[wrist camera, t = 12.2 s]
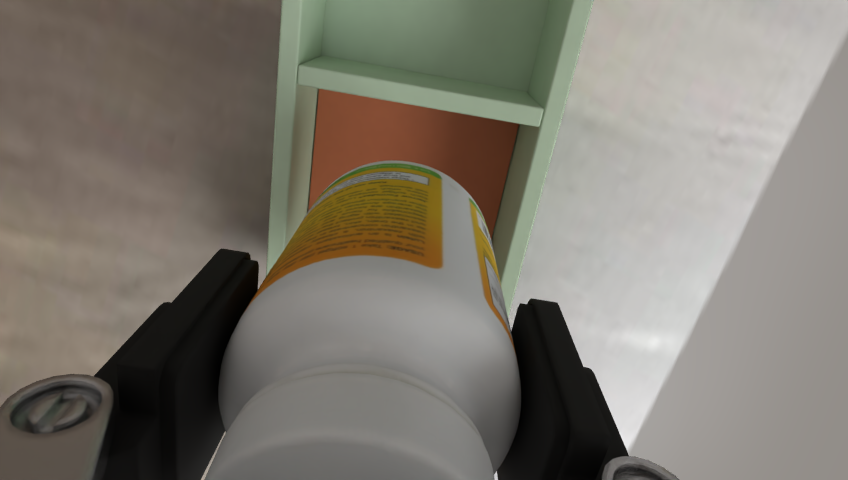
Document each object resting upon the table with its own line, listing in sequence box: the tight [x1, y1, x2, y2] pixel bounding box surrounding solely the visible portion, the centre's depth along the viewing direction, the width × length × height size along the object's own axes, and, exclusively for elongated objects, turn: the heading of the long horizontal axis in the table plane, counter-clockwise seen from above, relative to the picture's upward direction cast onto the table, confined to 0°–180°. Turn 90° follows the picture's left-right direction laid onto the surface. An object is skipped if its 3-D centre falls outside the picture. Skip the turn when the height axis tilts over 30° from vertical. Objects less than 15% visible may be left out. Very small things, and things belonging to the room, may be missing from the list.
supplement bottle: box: [205, 161, 521, 480], centre depth 11 cm, size 5×5×10 cm
